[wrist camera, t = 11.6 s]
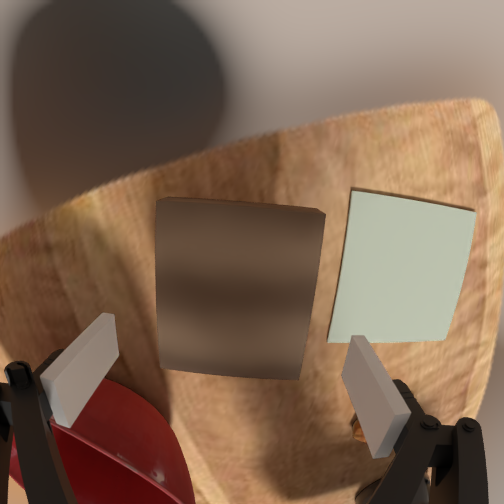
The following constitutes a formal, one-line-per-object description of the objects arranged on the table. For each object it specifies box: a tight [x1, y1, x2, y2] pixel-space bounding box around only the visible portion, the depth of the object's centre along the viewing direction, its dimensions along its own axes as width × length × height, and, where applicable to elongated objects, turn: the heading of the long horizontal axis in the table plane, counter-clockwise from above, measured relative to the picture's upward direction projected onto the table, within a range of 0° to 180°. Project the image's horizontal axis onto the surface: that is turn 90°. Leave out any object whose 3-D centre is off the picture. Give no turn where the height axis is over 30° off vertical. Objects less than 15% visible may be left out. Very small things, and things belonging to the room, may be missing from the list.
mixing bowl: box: [9, 378, 195, 504], centre depth 28 cm, size 28×28×16 cm
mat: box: [327, 191, 476, 343], centre depth 30 cm, size 16×16×1 cm
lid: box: [155, 197, 326, 380], centre depth 23 cm, size 13×11×3 cm
